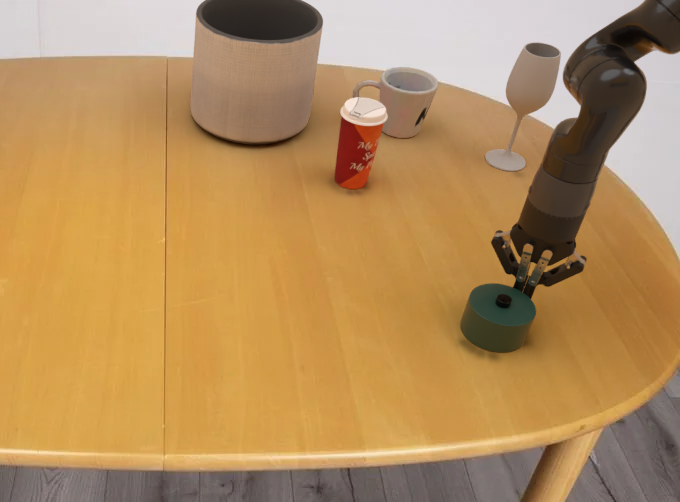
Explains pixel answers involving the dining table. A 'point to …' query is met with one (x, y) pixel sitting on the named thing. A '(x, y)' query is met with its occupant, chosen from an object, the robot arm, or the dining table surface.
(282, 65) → the planter
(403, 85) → the mug
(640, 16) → the robot arm
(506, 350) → the tea tin
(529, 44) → the wineglass
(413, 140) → the dining table surface
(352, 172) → the paper cup
